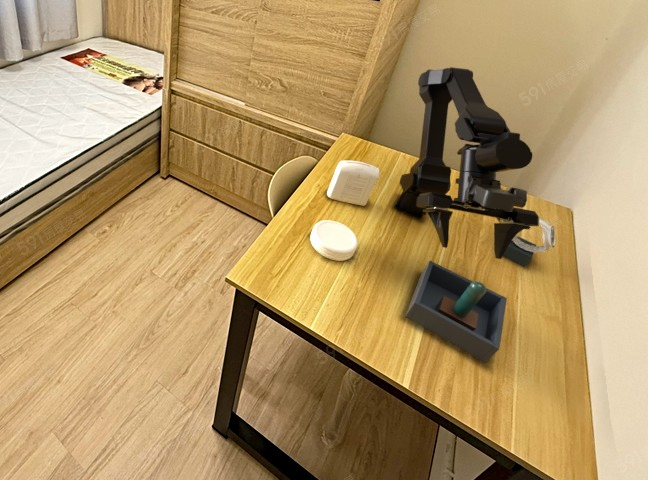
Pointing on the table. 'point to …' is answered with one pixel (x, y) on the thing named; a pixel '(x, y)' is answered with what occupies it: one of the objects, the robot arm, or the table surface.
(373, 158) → the table surface
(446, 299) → the teal handled stamp
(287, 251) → the table surface
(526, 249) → the watch
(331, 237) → the white thick round disc
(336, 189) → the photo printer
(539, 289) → the table surface
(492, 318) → the basket
